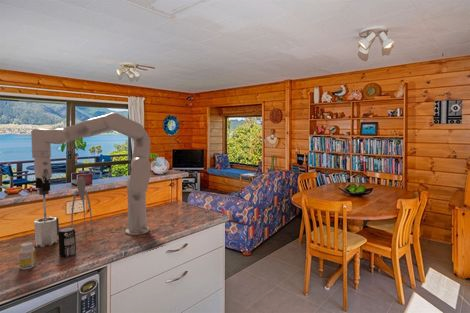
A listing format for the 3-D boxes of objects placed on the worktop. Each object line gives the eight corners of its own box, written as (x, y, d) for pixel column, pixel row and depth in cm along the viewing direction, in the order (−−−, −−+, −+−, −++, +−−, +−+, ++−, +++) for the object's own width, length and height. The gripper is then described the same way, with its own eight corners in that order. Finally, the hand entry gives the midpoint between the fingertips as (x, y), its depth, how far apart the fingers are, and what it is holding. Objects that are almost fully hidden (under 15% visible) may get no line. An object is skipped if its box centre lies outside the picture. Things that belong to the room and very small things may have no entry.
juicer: (85, 231, 160) (83, 178, 157) (71, 230, 162) (69, 177, 159) (98, 225, 170) (96, 175, 167) (84, 224, 172) (82, 174, 169)
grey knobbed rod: (54, 223, 143) (52, 187, 141) (40, 226, 138) (38, 189, 137) (50, 220, 147) (48, 186, 145) (36, 223, 142) (34, 187, 141)
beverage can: (63, 252, 134) (62, 226, 133) (78, 251, 134) (77, 226, 133) (56, 258, 127) (55, 231, 126) (72, 257, 128) (70, 231, 127)
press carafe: (46, 247, 138) (45, 223, 137) (30, 246, 140) (29, 222, 139) (65, 238, 150) (64, 216, 149) (50, 237, 151) (49, 214, 150)
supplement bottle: (26, 270, 116) (24, 247, 115) (17, 268, 118) (15, 245, 117) (39, 264, 121) (38, 242, 120) (30, 262, 123) (29, 240, 122)
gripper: (56, 155, 137) (57, 191, 138) (44, 153, 148) (45, 186, 149) (38, 156, 131) (39, 193, 132) (27, 153, 142) (28, 188, 144)
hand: (42, 189), depth 141 cm, fingers open, 9 cm apart
